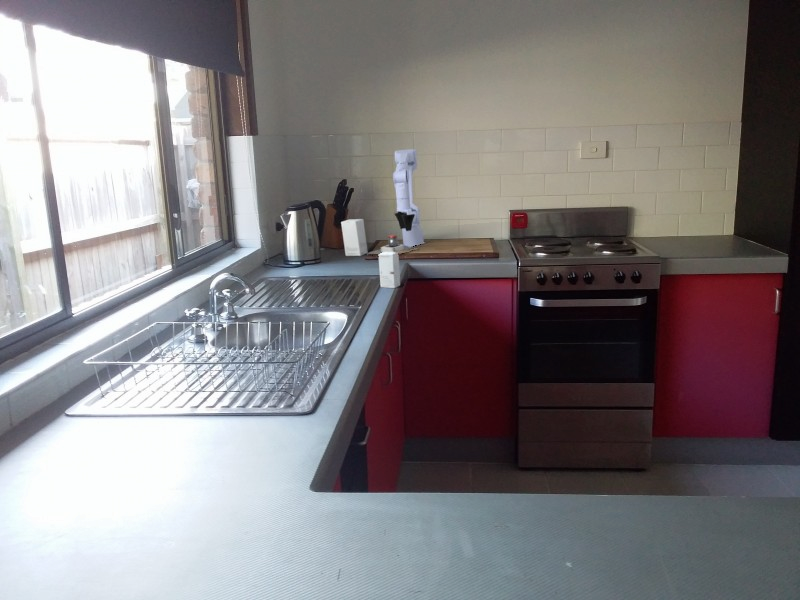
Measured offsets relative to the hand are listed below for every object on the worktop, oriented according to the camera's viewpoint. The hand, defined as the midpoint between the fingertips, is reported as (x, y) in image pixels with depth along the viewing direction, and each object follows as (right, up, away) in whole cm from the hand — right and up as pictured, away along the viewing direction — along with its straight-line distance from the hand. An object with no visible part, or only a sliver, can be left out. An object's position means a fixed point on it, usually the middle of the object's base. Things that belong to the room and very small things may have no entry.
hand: (405, 229), depth 303 cm
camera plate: (-6, -10, +4) cm, 12 cm away
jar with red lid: (-5, -9, +3) cm, 11 cm away
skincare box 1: (-22, -11, +7) cm, 25 cm away
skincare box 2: (-6, -26, -57) cm, 63 cm away
